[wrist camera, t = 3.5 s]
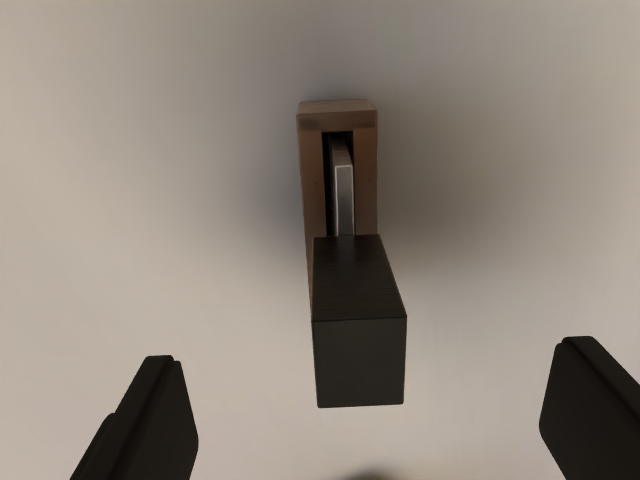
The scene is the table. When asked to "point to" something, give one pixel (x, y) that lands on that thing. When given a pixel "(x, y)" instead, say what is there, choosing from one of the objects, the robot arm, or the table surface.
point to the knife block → (363, 154)
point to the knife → (354, 306)
